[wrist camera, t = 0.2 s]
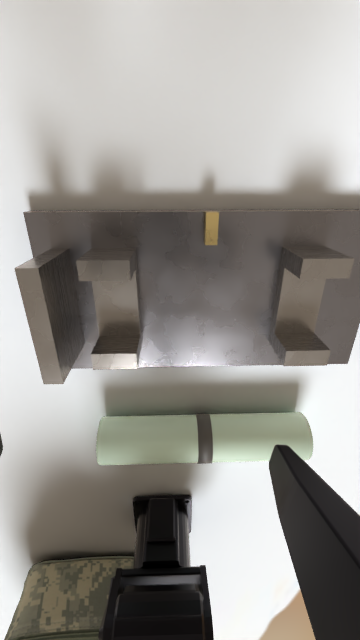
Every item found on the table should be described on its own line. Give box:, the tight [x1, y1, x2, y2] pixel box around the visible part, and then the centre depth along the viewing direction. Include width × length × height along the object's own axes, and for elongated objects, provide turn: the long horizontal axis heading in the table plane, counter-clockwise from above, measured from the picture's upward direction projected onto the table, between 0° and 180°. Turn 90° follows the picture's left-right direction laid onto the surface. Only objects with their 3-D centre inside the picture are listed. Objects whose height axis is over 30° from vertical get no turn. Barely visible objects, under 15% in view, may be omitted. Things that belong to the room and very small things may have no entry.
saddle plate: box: [15, 210, 360, 384], centre depth 19 cm, size 12×24×6 cm, turn 90°
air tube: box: [96, 412, 313, 465], centre depth 26 cm, size 4×18×4 cm, turn 90°
